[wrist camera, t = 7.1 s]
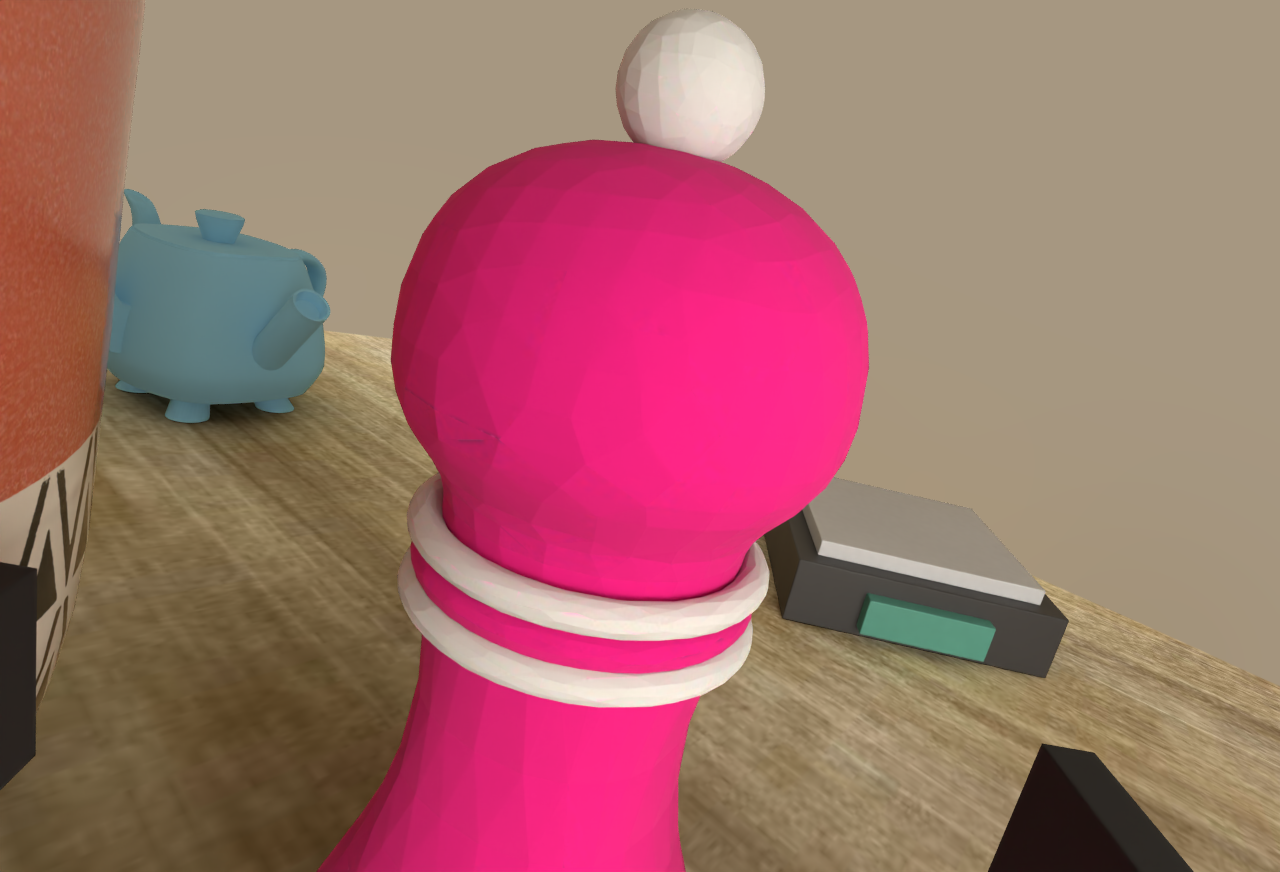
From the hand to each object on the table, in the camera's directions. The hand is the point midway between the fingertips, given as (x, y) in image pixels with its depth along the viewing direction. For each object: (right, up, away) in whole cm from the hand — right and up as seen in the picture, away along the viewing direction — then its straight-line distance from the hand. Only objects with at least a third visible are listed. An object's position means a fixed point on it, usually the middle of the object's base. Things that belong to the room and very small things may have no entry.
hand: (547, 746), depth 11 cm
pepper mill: (-2, -10, +4) cm, 11 cm away
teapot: (-26, +6, +40) cm, 48 cm away
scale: (+15, -4, +35) cm, 38 cm away
